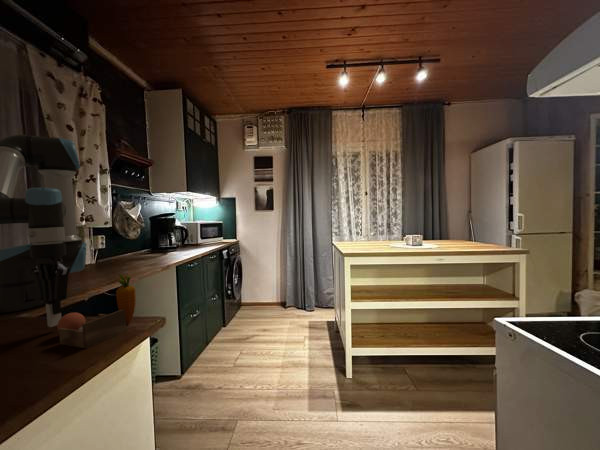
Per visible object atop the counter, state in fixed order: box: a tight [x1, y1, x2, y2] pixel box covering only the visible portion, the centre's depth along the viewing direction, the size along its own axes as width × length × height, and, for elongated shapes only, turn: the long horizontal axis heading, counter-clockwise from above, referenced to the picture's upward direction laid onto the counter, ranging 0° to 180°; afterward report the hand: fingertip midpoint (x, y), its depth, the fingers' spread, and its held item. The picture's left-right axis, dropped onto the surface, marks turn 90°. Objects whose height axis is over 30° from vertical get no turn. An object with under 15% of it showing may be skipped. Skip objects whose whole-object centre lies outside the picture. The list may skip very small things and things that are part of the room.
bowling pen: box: [58, 309, 127, 349], centre depth 74 cm, size 10×11×6 cm
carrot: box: [115, 274, 137, 325], centre depth 82 cm, size 5×5×15 cm
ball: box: [56, 312, 87, 332], centre depth 77 cm, size 6×6×6 cm
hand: (55, 324), depth 79 cm, fingers closed
